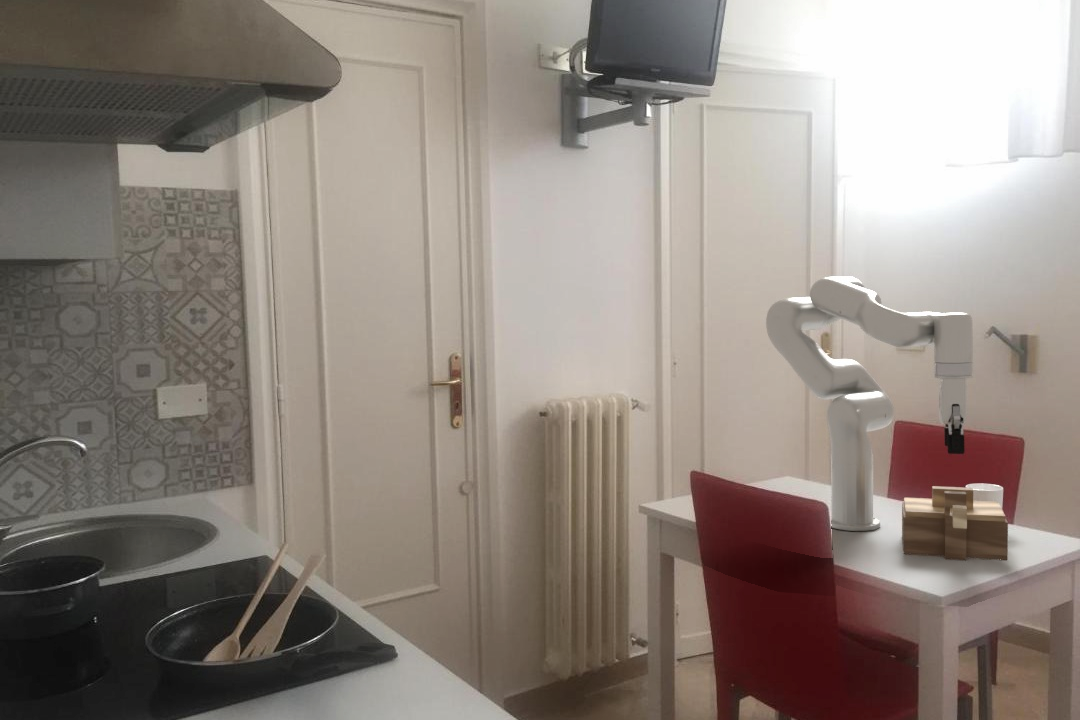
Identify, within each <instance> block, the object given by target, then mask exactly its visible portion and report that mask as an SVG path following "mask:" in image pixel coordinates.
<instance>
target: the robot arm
mask: <svg viewBox="0 0 1080 720" xmlns="http://www.w3.org/2000/svg"><path fill="white" fill-rule="evenodd" d="M809 290H810V291H809V296H805V297H804V296H803V297H802V296H801V297H799V296H798V297H797V296H796V297H786V298H782V299H780V300H777V301H775V302H774V303H772V304H771V306H770V307H769V308H768V311H767V313H766V317H765V320H766V321H765V327H766V333H767V335H768V339H769V340H770V342H771V344H772V345H773V347H774V348H775V350H776V351H777V352H778V353H779V354H780V355H781V356H782V357H783V358H784V359H785V361H787V363H788V364H789V366H791V368H792V369H793V371H794V372H795V373H796V375H797V376H798V377H799V379H800V380H801V381H802V382H803V384H804V385H805V387H807V388H808V391H809V392H810V393H811V394H812V395H813V396H815V397H816V398H818V399H820V400H831V402H830V403H829V404H828V407H827V409H826V422H827V427H828V428H827V429H828V433H829V439H830V461H831V462H830V469H831V470H830V477H831V478H830V480H831V481H830V482H831V483H830V484H831V485H830V487H831V491H830V492H831V494H830V495H831V496H830V497H831V499H830V501H831V507H830V509H831V514H830V515H831V524H832V527H831V528H832V529H837V530H840V531H841V530H842V531H848V532H849V531H850V532H867V531H872V530H876V529H879V528H880V526H881V520H879V519H878V518H876V517H874V454H873V453H874V451H873V446H872V443H871V441H870V438H869V435H868V432H873V431H878V430H881V429H882V430H883V429H884V428H886V427H888V426H889V425H890V424H891V423H892V421H893V420H894V418H895V417H894V416H895V408H894V404H893V402H892V400H891V398H890V397H889V394H887V393H886V391H885V390H884V389H883V388H882V387H881V385H880V384H879V383H878V382H877V381H876V380H875V378H874V377H873V376H872V375H871V373H870V372H869V371H868V370H867V369H866V367H864V366H863V365H862V364H860V363H859V362H858V361H856V360H854V359H850V358H839V359H838V358H837V359H834V358H831V357H830V356H829V355H828V354H827V353H826V352H825V351H824V350H823V348H822V347H821V345H819V343H818V342H816V341H815V340H814V339H813V338H811V337H810V336H809V335H807V334H805V333H804V332H803V331H806V332H807V331H815V330H820V329H823V328H826V327H828V326H831V325H832V324H834V323H837V322H838V321H839V320H843V321H846V322H849V323H851V324H853V325H856V326H859V327H860V329H861V331H863V332H864V333H865V334H866V335H868V337H870V338H873V339H875V340H877V341H880V342H883V343H885V344H888V345H891V346H894V347H896V348H900V349H901V348H902V349H909V348H919V347H928V346H933V349H934V350H933V351H934V354H933V356H934V357H933V358H934V363H933V364H934V365H933V366H934V370H933V371H934V378H936V379H939V383H938V384H939V387H938V419H939V422H940V424H942V425H944V426H945V427H944V446H945V447H947V454H948V455H949V454H950V455H953V454H954V455H964V454H965V453H966V452H965V434H964V425H965V424H966V423H967V414H968V413H967V411H968V410H967V409H968V379H972V378H974V374H973V373H974V371H973V370H974V365H973V364H974V363H973V359H974V355H973V353H974V351H973V350H974V346H973V344H974V343H973V338H974V337H973V333H974V332H973V317H972V316H971V314H969V313H966V312H946V313H945V312H943V313H941V312H934V311H933V312H932V311H922V312H921V311H919V312H917V311H916V312H900V311H897V310H895V309H891V308H889V307H886V306H884V305H882V298H881V296H880V295H879V294H878V293H877V292H875V291H873V290H871V289H867V288H866V287H865V285H864V284H863V282H861V281H860V279H858V278H855V277H854V276H847V275H846V276H827V277H822V278H820V279H818V280H817V281H815V282H814V283H813V284H812V286H811V288H810V289H809Z"/></svg>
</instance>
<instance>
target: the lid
mask: <svg viewBox="0 0 1080 720" xmlns="http://www.w3.org/2000/svg"><path fill="white" fill-rule="evenodd" d="M945 491H952V492H966V507H967V520H978V521H997V522H1006V520H1007V518H1006V514H1005V513H1004V510H1003V508H1002V509H1001V507H1000V505H999V503H998V502H994V501H973V488H966V487H964V486H963V487H960V486H958V487H957V486H937V485H935V486H934V485H933V486H931V498H928V497H927V498H924V497H904V498H903V502H904V506H905V515H906V517H920V518H939V519H945ZM952 511H953V507H950V513H951V514H952Z"/></svg>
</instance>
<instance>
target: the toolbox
mask: <svg viewBox="0 0 1080 720" xmlns="http://www.w3.org/2000/svg"><path fill="white" fill-rule="evenodd" d="M953 505H961V506H966V492H952V491H945V519H939V518H920V517H906V515H905V506H904V501H901V513H902V514H901V517H902V518H901V529H902V530H901V534H902V535H901V536H902V537H901V539H902V549H903V554H904V555H916V556H933V557H944V559H945V560H955V561H965V562H966V561H967V559H976V558H979V559H978V560H980V559H981V560H991V559H999V560H998V561H1007V560H1008V557H1009V556H1008V555H1009V554H1008V553H1009V552H1008V549H1009V547H1008V546H1009V545H1008V544H1009V540H1008V539H1009V538H1008V537H1009V523H1008V522H1009V521H1008V520H1007V519H1006V522H997V521H978V520H967V529H964V528H953V518H952V514H951V513H950V507H953ZM1000 559H1001V560H1000Z"/></svg>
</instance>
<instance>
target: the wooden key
mask: <svg viewBox="0 0 1080 720" xmlns="http://www.w3.org/2000/svg"><path fill="white" fill-rule="evenodd" d="M952 518H953V528H964V529H967V507H966V506H961V505H953V511H952Z"/></svg>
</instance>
